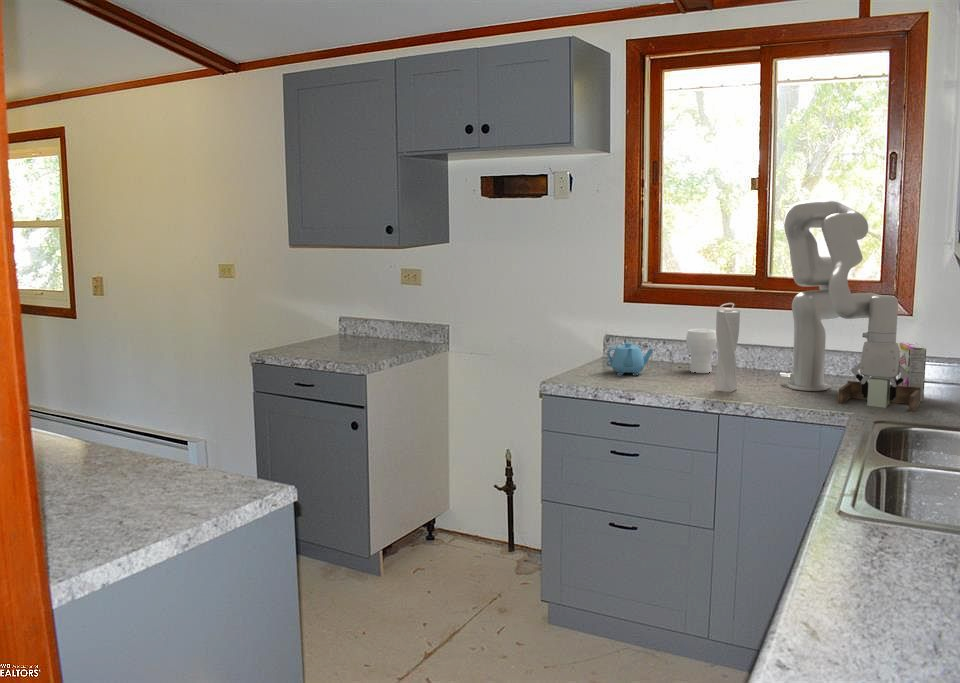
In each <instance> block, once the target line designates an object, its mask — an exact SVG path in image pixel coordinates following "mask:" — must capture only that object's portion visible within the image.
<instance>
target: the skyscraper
mask: <svg viewBox="0 0 960 683" xmlns="http://www.w3.org/2000/svg"><path fill="white" fill-rule="evenodd" d="M729 305H732V306H731V308H730V307H729V308H723V309H722V310H720V309H721V308H722V307H724V306H729ZM734 307H735V303H733V302H728V303H727V302H726V303H723V304H721V305H719V307H718V308H717V309H716V319H715V320H716V322H715V332H716V339H717V344H716V346H717V351H718V353H717V362H716V371H715V387H714V391H715V392H716V391H717V392H726V393H732V392H734V391H735V390H737V388H738V386H737V385H738V384H737V381H738V380H737V359H736V358H737V357H736V352H737V351H736V350H737V346H738V341H739V336H740V334H739V333H740V322H741V321H740V317H741V313H740V312H741V311H740V309H734Z"/></svg>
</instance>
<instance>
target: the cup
mask: <svg viewBox="0 0 960 683" xmlns="http://www.w3.org/2000/svg"><path fill="white" fill-rule="evenodd" d="M685 340H686V341H685V342H686V346H687V350H688V351H689V353H690V361H691V362H690V367H689V372H690V371H691V373H694V372H696V373H695V374H708V373H709V372H710V373H712V371H713V369H712V363H711V362H712V361H711V360H712V355H713V353H714V351H715V350H716V346H717V339H716V329H709V328H691V329H688V330H687V333H686V338H685ZM710 373H709V374H710Z"/></svg>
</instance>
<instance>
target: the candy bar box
mask: <svg viewBox="0 0 960 683" xmlns="http://www.w3.org/2000/svg"><path fill="white" fill-rule="evenodd" d="M898 345H899V353H900V365H901V366H902V367H903V368H904V369H905V370H906V371H907V372H908V373H909V374H910V376H909V377H908V378H906V379H905V380H904V381H903V382H901V383H900V384H899V385H901V386H912V387H921V393H920V403H921V402H923V403H924V400H925V399H924V398H925V382H926V381H925V380H926V363H927V362H926V359H927V357H926V356H927V348H926V347H924V346H922V345H920V344H918V343H916V342H905V341H903V342H899V343H898ZM901 377H902V373H901V372H899V375H897V380H898V379H899V378H901Z"/></svg>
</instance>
